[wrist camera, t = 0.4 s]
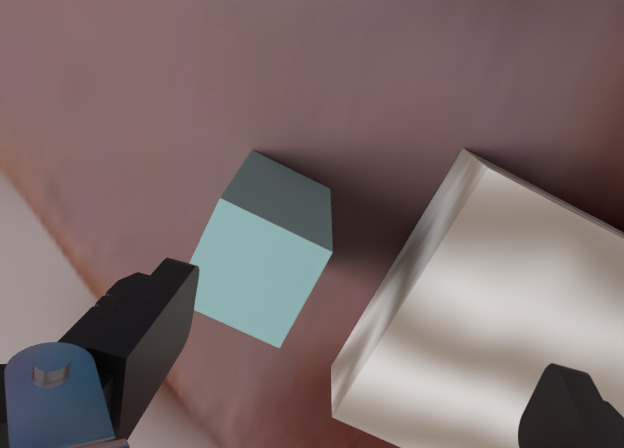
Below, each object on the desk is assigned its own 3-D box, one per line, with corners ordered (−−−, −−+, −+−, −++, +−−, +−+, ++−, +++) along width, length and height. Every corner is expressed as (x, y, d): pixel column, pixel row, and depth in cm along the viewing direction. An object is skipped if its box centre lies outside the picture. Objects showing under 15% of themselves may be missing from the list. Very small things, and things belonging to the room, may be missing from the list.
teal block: (251, 149, 31) (220, 198, 22) (330, 189, 32) (332, 252, 22) (216, 224, 33) (172, 299, 23) (292, 260, 33) (279, 348, 24)
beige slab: (462, 147, 31) (487, 167, 26) (692, 268, 33) (755, 307, 28) (331, 366, 35) (332, 417, 31) (538, 460, 37) (570, 521, 33)
